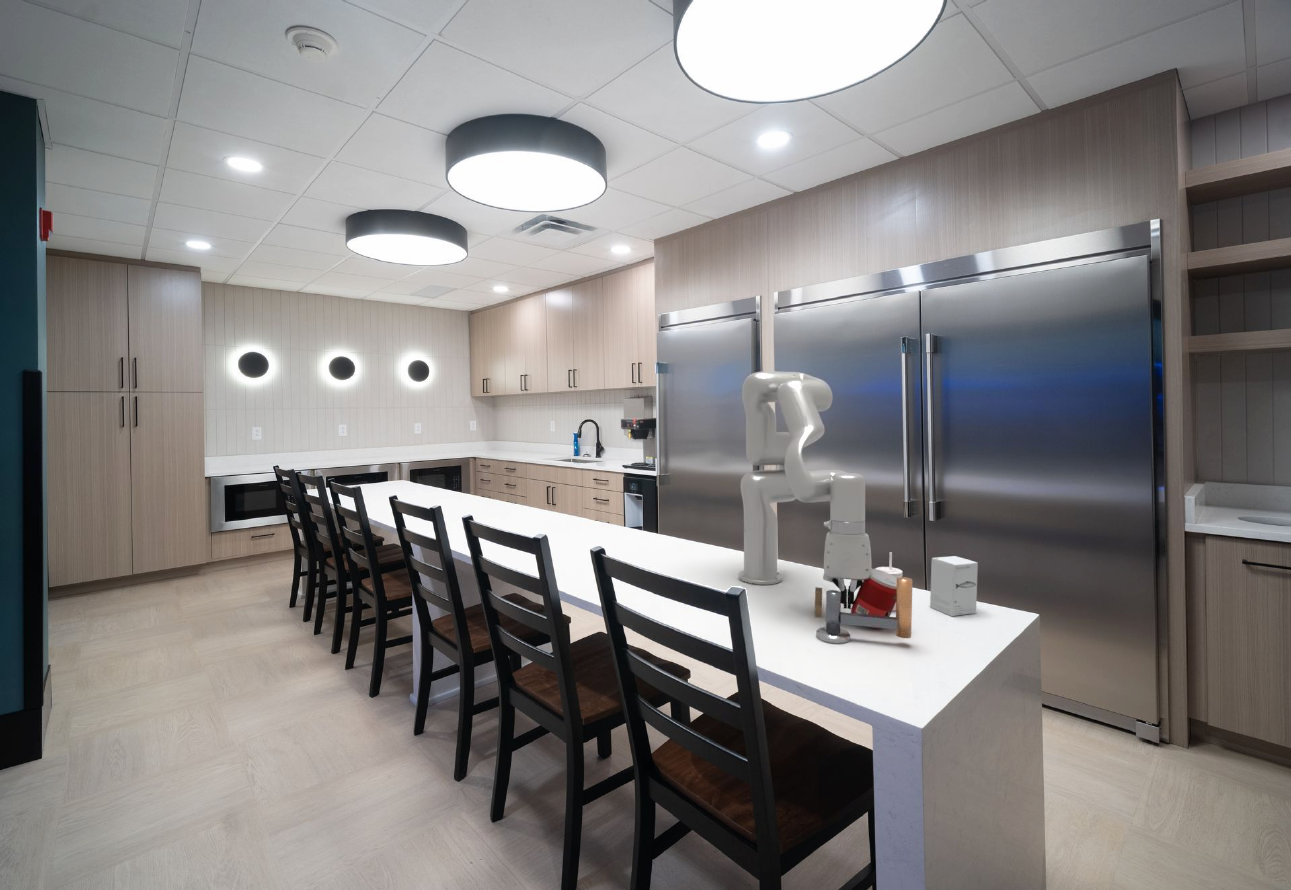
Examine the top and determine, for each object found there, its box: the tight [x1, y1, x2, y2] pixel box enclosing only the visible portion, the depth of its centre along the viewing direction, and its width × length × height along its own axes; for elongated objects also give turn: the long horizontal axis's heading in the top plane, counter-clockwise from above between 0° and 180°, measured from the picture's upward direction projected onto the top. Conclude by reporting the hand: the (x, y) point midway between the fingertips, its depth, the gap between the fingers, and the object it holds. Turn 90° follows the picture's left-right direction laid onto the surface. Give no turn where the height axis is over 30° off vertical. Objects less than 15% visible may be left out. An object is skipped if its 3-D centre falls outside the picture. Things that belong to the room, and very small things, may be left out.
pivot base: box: [815, 626, 851, 645], centre depth 128 cm, size 7×7×1 cm
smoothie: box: [874, 552, 904, 612], centre depth 146 cm, size 6×6×14 cm
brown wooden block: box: [814, 586, 823, 619], centre depth 142 cm, size 4×2×6 cm, turn 163°
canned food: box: [850, 568, 897, 630], centre depth 134 cm, size 8×8×11 cm
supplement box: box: [929, 555, 979, 617], centre depth 144 cm, size 7×7×13 cm
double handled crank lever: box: [825, 576, 913, 639], centre depth 126 cm, size 17×3×13 cm, turn 73°
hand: (847, 607), depth 136 cm, fingers closed
